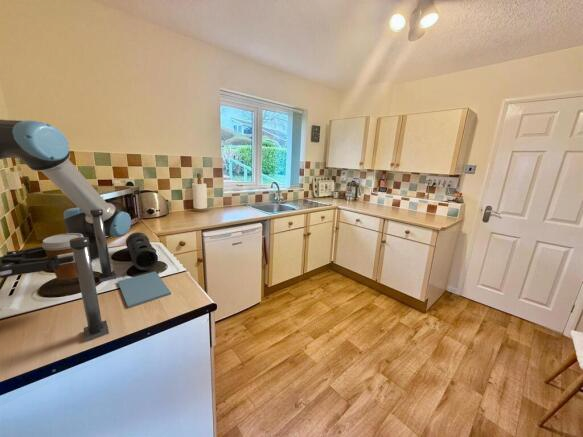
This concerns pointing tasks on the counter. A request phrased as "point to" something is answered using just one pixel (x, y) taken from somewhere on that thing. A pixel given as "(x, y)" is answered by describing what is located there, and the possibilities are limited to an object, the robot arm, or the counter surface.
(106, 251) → the post
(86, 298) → the post
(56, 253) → the disposable coffee cup
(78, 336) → the counter surface
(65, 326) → the counter surface
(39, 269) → the robot arm
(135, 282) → the mat
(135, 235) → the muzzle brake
